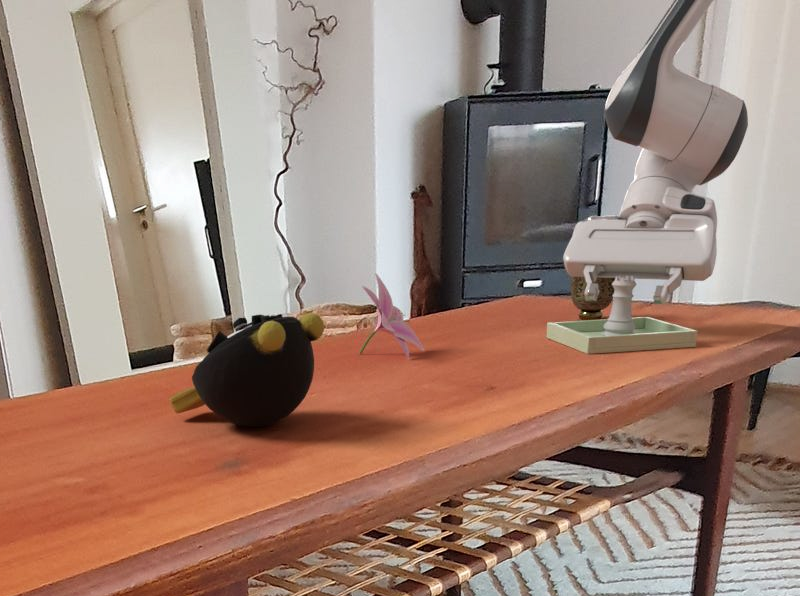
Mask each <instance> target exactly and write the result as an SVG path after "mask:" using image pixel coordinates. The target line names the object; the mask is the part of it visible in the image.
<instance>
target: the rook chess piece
mask: <svg viewBox="0 0 800 596" xmlns="http://www.w3.org/2000/svg"><path fill="white" fill-rule="evenodd" d="M634 278H635V277H634V276H631V277H629V276H625V278H624V277H623V276H619V277H618V276H615V281H614V282H613V283H612V286H613V287H614V294H613V295H612V296H613V299H612V306H611V309H610V314H609V315H608V316H609V317H608V318H607V319H608V321H607V322H606V323H605V324H604V329H605V330H606V331H605V332H604V333H602V334H603V336H608V335H624V334H635V333H634V332H633V330H634V329H635V328H636V326H635V324H634V323H633V318H634V317H633V315H632V314H633V313H632V301H633V297H634V294H633V290H634V289H635V287H636V286H637V282H636V281H635V279H634Z"/></svg>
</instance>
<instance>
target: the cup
mask: <svg viewBox="0 0 800 596" xmlns="http://www.w3.org/2000/svg"><path fill="white" fill-rule="evenodd" d="M614 281H615V278H601V277H597V279H596V281H595V282H592V283H598V286H599V287H598V288H599V291H600V292H599V295H598V296H597V301H586V300H585V296H584V293H585V289H586V286H587V284H586V281H585V277H572V276H570V297H571V301H572V303H573V305H574V307H575V308H577V309H578V310H579V313H578V314H577V315H578V319H579V320H580V321H584V320H601V319H602V318H603V316H604V314H603V313H604V312H603V310H605V309H606V308H608V307H609V306H610V305H611V304H612V303H613V296H612V295H613V294H614V287H613V286H612V283H613V282H614Z"/></svg>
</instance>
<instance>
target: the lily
mask: <svg viewBox="0 0 800 596" xmlns="http://www.w3.org/2000/svg"><path fill="white" fill-rule="evenodd" d="M375 278H376V282H377V283H376V284H377V290H378V292H377V293H378V296H377V295H376V294H375V292H373V291H372V290H371V289H369V288H367V286H364V285H362V286H361V287H362V289H363V290H364V291H365V293H366V294H367V296H369V298H370V300H371V301H372V302H373V303H374V305H375V307H376V309H377V324H376V328H375V329H374V330H373V331H372V332H371V334H369V336H368V338H367V339H366V341H365V342H364V344H363V346H362V348H361V349H360V350H359V355H362V354H363V352H364V350H365V348H366V346H367V344H369V341H370V340H371V338H373V336H374V335H375V334H376V333H377V332H378V331H379V332H380V331H381V332H384V333H387V334H389V335H392V336H393V337H395V339H396V340H397V341H398V343H399V345H400V347H401V349H402V350H403V352H404V354H405V357H406V358H407V360H410V351H409V347H408V344H407V342H409V343H411V344H413V345H415V346H416V347H418V348H419V349H420V350H422V351H423V352H425V348H424V347H423V344H422V343H421V341H420V339H419V338H418V336H417V335H416V333H415V331H414V330H413V329H412V328H411V327H410V326H409V325H408V324H407V323H405V321H404V316H405V314H404V313H403V312H402V311H401V309H400V308H398V307H397V306H395V305H394V303H393V299H392V296H391V295H390V292H389V290H388V288H387V286H386V285H385V283H384V281H383V280H382V279H381V278H380V276H379V275H378V274H377V273H375ZM406 341H407V342H406Z"/></svg>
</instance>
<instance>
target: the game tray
mask: <svg viewBox="0 0 800 596" xmlns="http://www.w3.org/2000/svg"><path fill="white" fill-rule="evenodd" d="M632 318H633V323H634V324H635V326H636V328H635V329H634V330H633V332H634V333H635V334H624V335H608V336H603V334H602V333H604V332H605V331H606V330H605V329H604V324H605V323H606V322H607V321H608V318H603V319H602V318H601V319H600V320H584V321H583V320H569V321H552V322H547V324H546V336H545V337H546V339H549V340H551V341H553V342H555V343H556V342H557V343H559V344H561V345H563V346H565V347H566V346H567V347H569V348H571V349H574V350H577V351H579V352H581V353H584V354H586V355H593V354H594V355H595V354H608V353H609V354H610V353H622V352H623V353H627V352H639V351H641V352H642V351H654V350H655V351H656V350H670V349H685V348H686V349H687V348H696V347H697V340H698V332H699V330H696V329H692V328H689V327H686V326H682V325H678V324H676V323H671V322H667V321H664V320H661V319H657V318H654V317H650V316H639V317H638V316H636V317H632Z"/></svg>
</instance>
